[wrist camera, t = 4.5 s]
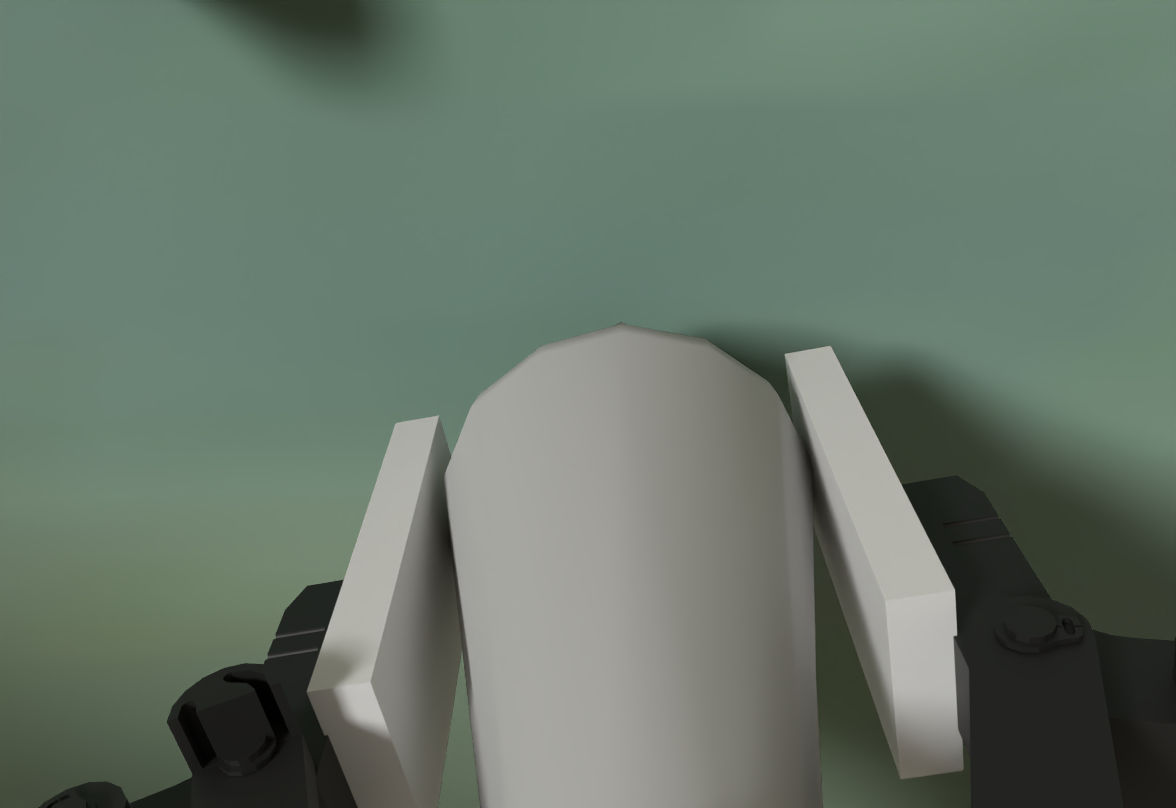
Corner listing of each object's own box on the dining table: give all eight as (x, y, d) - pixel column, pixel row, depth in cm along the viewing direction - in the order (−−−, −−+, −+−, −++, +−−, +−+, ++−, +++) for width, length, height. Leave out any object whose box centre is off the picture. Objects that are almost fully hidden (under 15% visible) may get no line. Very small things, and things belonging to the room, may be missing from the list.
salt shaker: (441, 538, 20) (245, 1471, 8) (481, 251, 17) (278, 1024, 6) (744, 582, 20) (952, 1520, 9) (826, 309, 18) (1270, 1129, 6)
